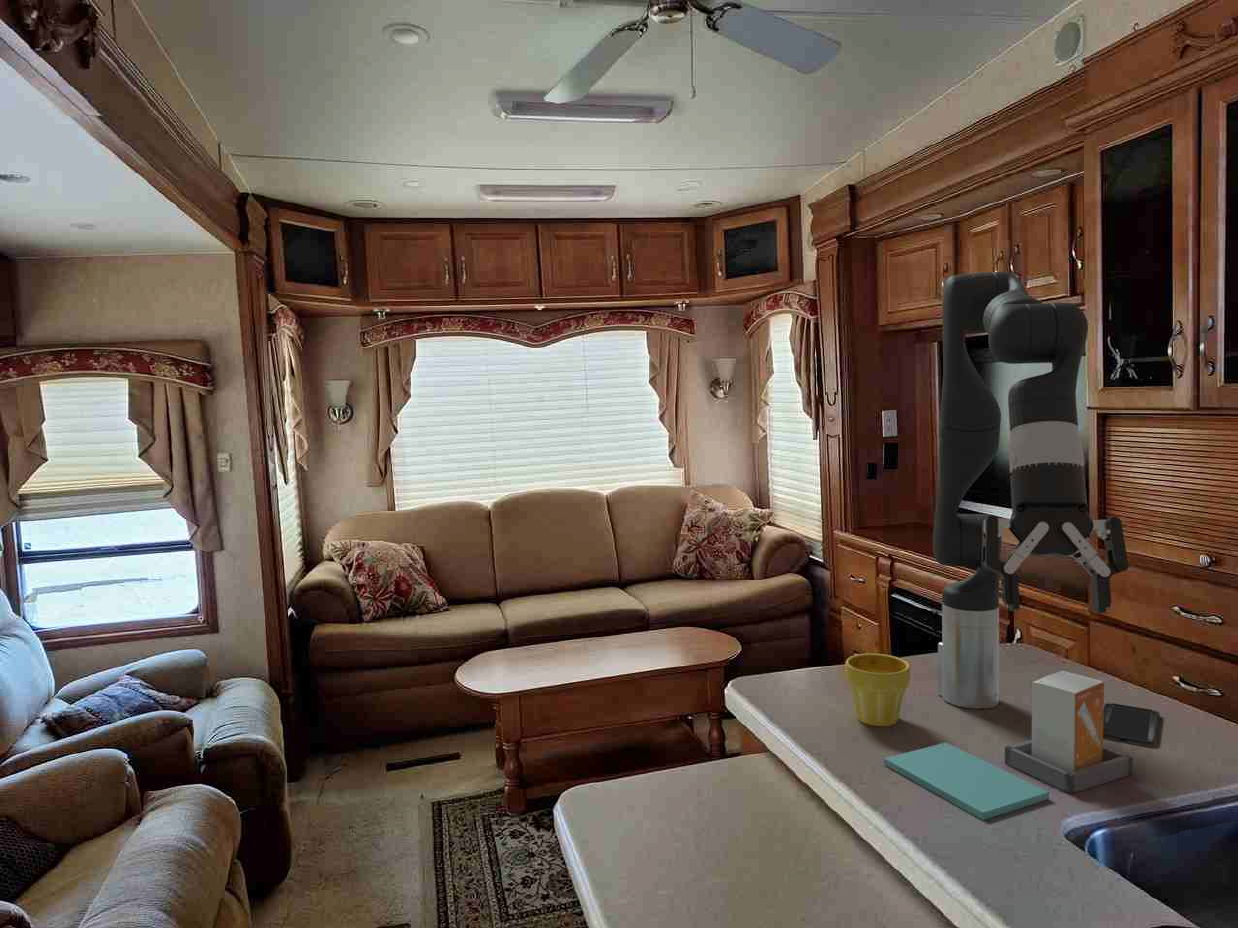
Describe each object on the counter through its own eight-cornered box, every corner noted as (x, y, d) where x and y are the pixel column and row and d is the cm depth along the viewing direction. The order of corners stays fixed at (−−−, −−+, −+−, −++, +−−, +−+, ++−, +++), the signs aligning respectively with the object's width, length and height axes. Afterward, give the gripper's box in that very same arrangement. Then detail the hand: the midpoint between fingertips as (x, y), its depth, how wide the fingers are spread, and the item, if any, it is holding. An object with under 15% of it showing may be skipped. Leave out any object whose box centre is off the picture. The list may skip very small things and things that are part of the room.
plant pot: (916, 731, 133) (916, 672, 132) (851, 730, 134) (850, 672, 133) (902, 707, 143) (902, 653, 142) (841, 707, 144) (841, 652, 143)
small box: (1074, 784, 113) (1075, 693, 112) (1030, 768, 118) (1030, 680, 117) (1104, 768, 118) (1105, 680, 117) (1060, 753, 123) (1060, 669, 122)
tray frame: (1004, 763, 120) (1004, 746, 120) (1064, 746, 125) (1064, 730, 125) (1070, 793, 111) (1070, 775, 110) (1131, 774, 116) (1132, 757, 115)
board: (884, 764, 121) (884, 758, 121) (945, 748, 126) (945, 742, 126) (982, 820, 105) (982, 812, 105) (1048, 799, 109) (1048, 791, 109)
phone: (1159, 710, 136) (1154, 742, 124) (1159, 717, 136) (1154, 749, 124) (1104, 701, 141) (1094, 731, 128) (1104, 708, 141) (1094, 738, 129)
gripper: (1103, 475, 95) (1116, 616, 91) (972, 475, 98) (979, 611, 95) (1127, 459, 88) (1142, 611, 84) (985, 459, 91) (993, 606, 87)
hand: (1056, 611), depth 89 cm, fingers open, 8 cm apart
